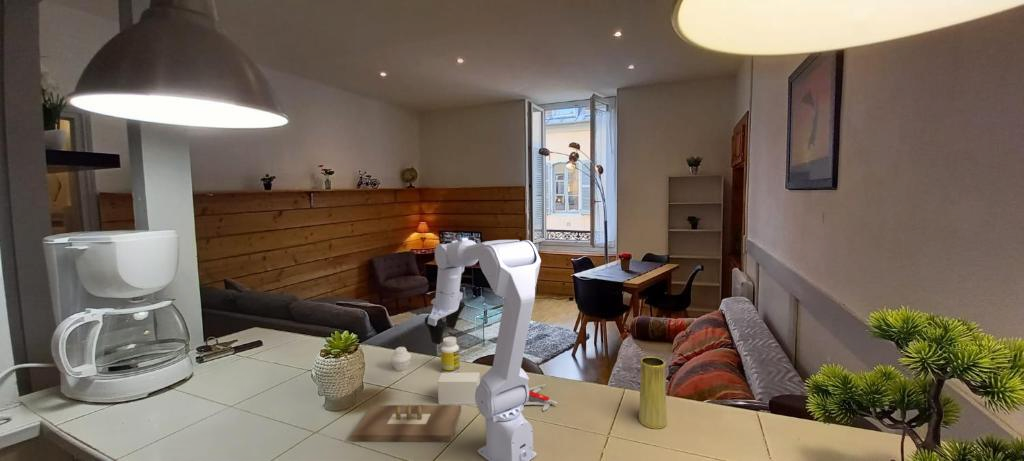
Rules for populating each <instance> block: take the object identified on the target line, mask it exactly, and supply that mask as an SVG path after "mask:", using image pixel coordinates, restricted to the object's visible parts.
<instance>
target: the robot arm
mask: <svg viewBox="0 0 1024 461" xmlns="http://www.w3.org/2000/svg"><path fill="white" fill-rule="evenodd" d="M434 259H435V262H436V265H437V276H436V277H437V278H436V290H435V297H434V298H433V299H431V301H430V304H431V305H432V309H431V312H430V314H428V315H427V316H426V317H425V318H424V324H425V325H426V327H427V329H428V330H429V334H430V338H431V342H432V343H433V344H436V345H440V344H441V342H443V338H444V337H443V336H444V333H445V329H446V328H450V329H453V330H454V329H455V327H456V326H457V323H458V320H459V317H460V315H461V312H462V311H463V310H464V309H465V307H466V303H465V302H463V301H462V300H463V292H461V291H460V289H461V281H462V274H463V273H464V272H465V267H470V266H471V267H472V266H474V265H476V264H477V263H478V262H479V266H480V269H481V271H482V273H483V275H484V276H485V278H486V280H487V282H488V284H489V286H490V288H491V289H492V291H493V293H494V295H495V296H499V297H501V298H503V305H502V310H501V311H502V312H501V316H500V323H499V328H498V333H497V339H496V345H495V352H494V357H493V362H492V366H491V367H490V369H488V370H487V371H486V372H485V373H484V374H483V375H482V376H480V384H479V385H478V386H477V388H476V392H475V401H476V404H475V405H476V407H477V410H478V412H479V413H480V414H481V415H482V416H483V417H484V419H485V420H484V421H485V435H486V436H485V441H486V445H483V446H482V447H480V448H479V449H478V450H477V453H478V454H479V455H481V456H482V457H483V458H484V459H486V460H487V461H532V459H534V458H535V457H537V452H536V451H535V450H534V431H533V426H532V424H531V423H530V422H529V421H528V420H527V419H526V418H525V417H524V414H522V413H523V411H524V410H525V405H524V404H525V403H527V402H529V401H528V399H529V388H530V387H529V382H530V377H529V375H528V374H527V373H526V371H525V370H524V369H523V368H522V363H523V358H524V355H525V354H524V353H525V348H526V343H527V339H528V334H529V329H530V324H531V318H532V314H533V310H534V305H535V304H534V303H535V298H536V287H537V281H538V276H539V274H540V267H541V263H542V259H541V257H540V255H539V252H538V249H537V248H536V246H535V244H534V243H533V242H532V241H531V240H529V239H528V240H527V239H524V240H521V241H520V240H519V239H497V240H487V241H486V240H485V241H482V242H479V243H477V242H475V241H473V240H472V239H469V238H468V237H462V238H459V241H458V240H457V239H456V240H451V242H449V243H439V244H437V245H436V246H435V249H434ZM444 317H445V321H443V319H442V318H444Z"/></svg>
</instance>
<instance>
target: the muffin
mask: <svg viewBox="0 0 1024 461" xmlns="http://www.w3.org/2000/svg"><path fill="white" fill-rule="evenodd" d="M411 359H412V354H411V353H410V352H409V351H408V350H407V348H406V347H405V346H398V347H396V348H395V349H394V352H393V354H392V355H391V357H390V363H391V365H392V366H393V367H394V368H395V371H396V372H402V371H405V370H407V369H408V367H409V365H410V362H411Z"/></svg>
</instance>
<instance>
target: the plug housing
mask: <svg viewBox="0 0 1024 461" xmlns="http://www.w3.org/2000/svg"><path fill="white" fill-rule="evenodd" d="M480 380H481V374H480V372H455V373H444V372H441V374H440V377H439V378H438V380H437V395H438V397H437V398H438V405H476V401H475V392H476V388H477V386H478V385H479V384H480Z"/></svg>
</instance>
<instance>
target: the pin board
mask: <svg viewBox="0 0 1024 461" xmlns="http://www.w3.org/2000/svg"><path fill="white" fill-rule="evenodd" d="M461 413H462V404H436V405H435V404H426V405H425V404H418V405H417V404H413V405H412V404H411V405H410V404H407V405H405V404H404V405H403V404H401V405H400V404H399V405H398V404H397V405H396V404H389V405H387V404H386V405H385V404H381V405H377V404H376V405H374V404H373V405H372V406H371V407H370V409H369V410H368V411H367V413H366V414H365V415H364V417H363V418H362V419H361V421H360V422H359V424H357V426H356V428H355V429H354V431H353V432H352V433H351V434H350V441H351V442H359V443H360V442H369V443H370V442H372V443H373V442H375V443H376V442H379V443H380V442H381V443H382V442H385V443H387V442H388V443H390V442H392V443H393V442H395V443H399V442H400V443H401V442H402V443H403V442H404V443H409V442H410V443H411V442H413V443H419V442H420V443H433V442H434V443H436V442H437V443H444V442H445V443H452V439H453V437H454V434H455V432H456V428H457V424H458V421H459V418H460V416H461Z"/></svg>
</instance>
